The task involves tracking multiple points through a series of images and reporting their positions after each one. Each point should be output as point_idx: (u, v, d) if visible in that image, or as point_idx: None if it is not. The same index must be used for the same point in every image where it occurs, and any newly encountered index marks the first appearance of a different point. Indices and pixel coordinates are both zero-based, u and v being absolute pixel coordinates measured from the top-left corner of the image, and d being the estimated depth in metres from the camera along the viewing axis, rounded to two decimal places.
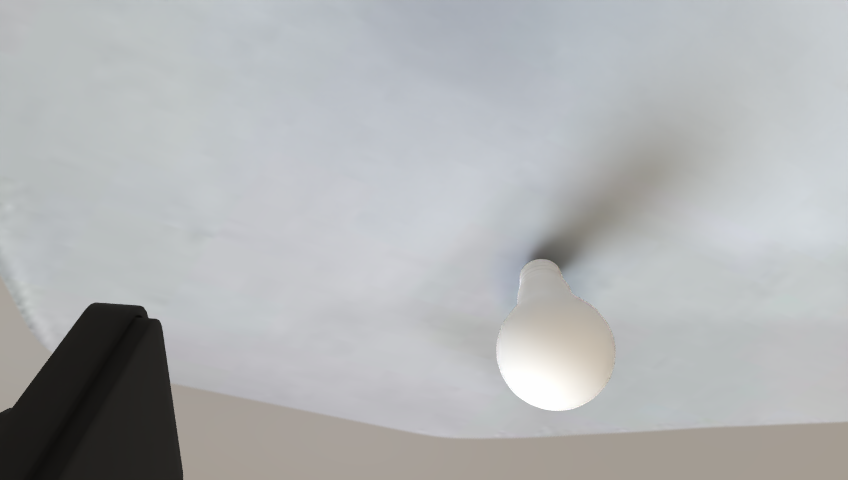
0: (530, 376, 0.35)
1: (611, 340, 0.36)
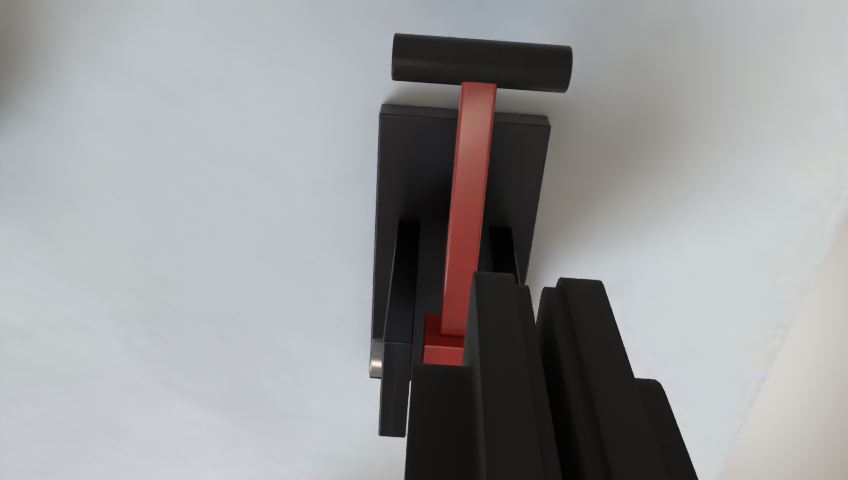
0: None
1: None
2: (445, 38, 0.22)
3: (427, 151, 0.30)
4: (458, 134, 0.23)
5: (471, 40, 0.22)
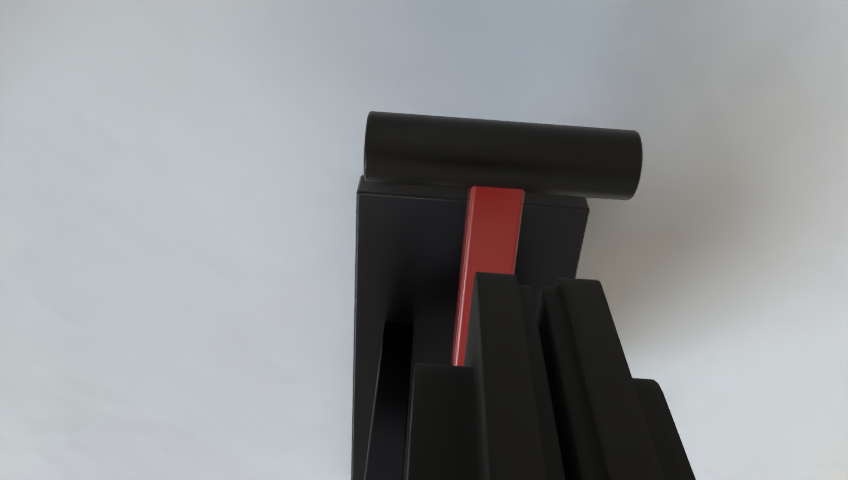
0: None
1: None
2: (446, 121, 0.15)
3: (422, 239, 0.22)
4: (466, 260, 0.15)
5: (486, 124, 0.14)
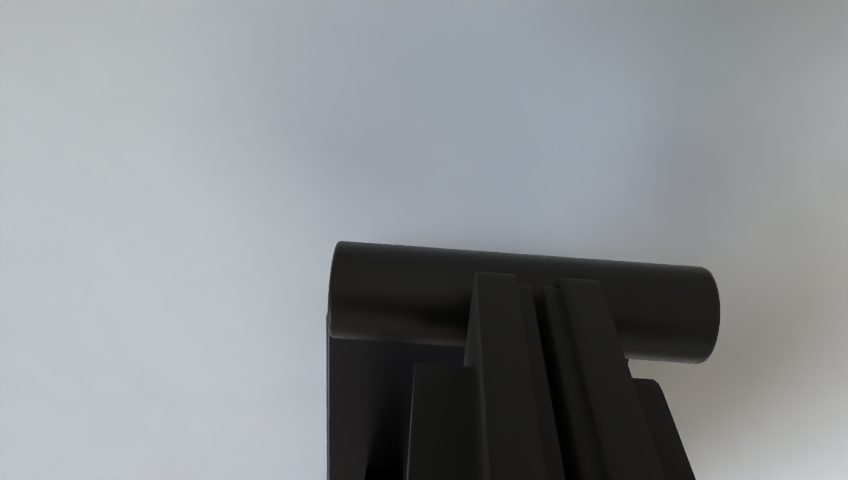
0: None
1: None
2: (444, 255, 0.10)
3: (413, 373, 0.17)
4: None
5: (499, 260, 0.10)
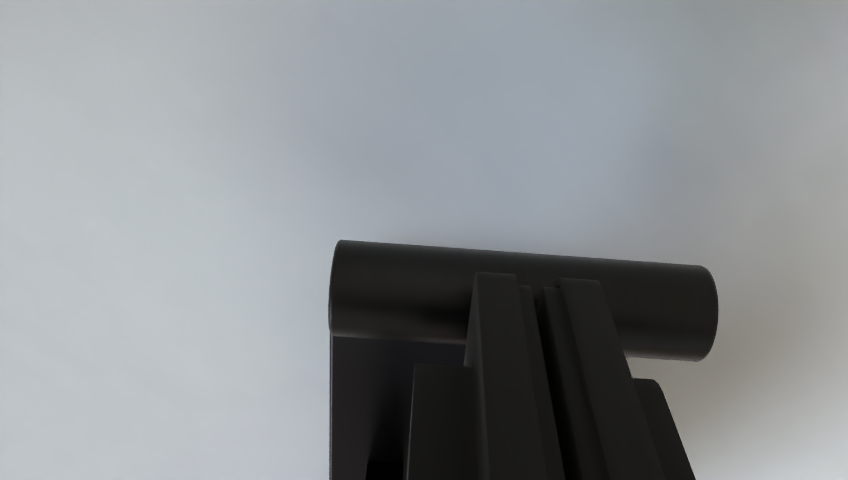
0: None
1: None
2: (444, 255, 0.10)
3: (413, 366, 0.18)
4: None
5: (499, 260, 0.10)
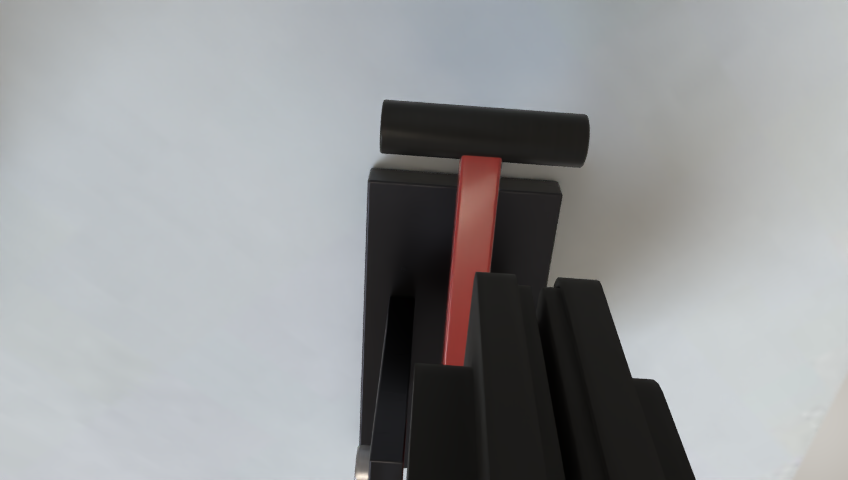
0: None
1: None
2: (442, 106, 0.19)
3: (422, 221, 0.27)
4: (457, 215, 0.20)
5: (472, 108, 0.19)
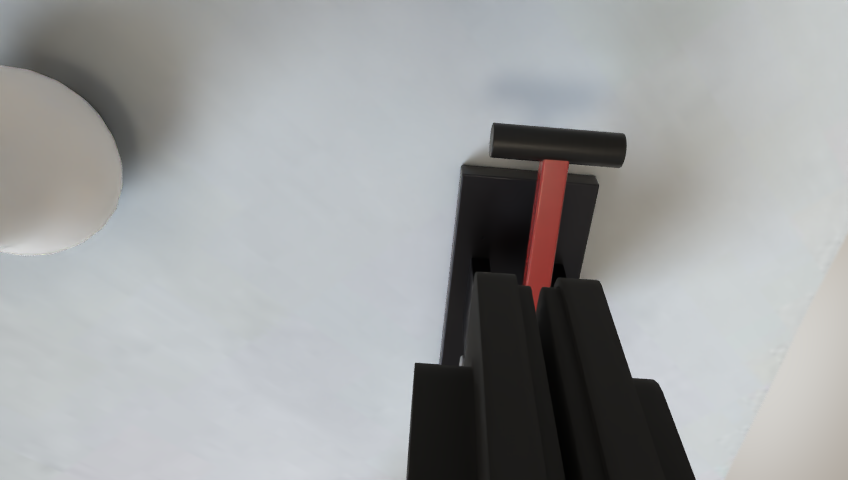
0: None
1: None
2: (531, 127, 0.30)
3: (498, 203, 0.37)
4: (538, 198, 0.31)
5: (550, 129, 0.30)
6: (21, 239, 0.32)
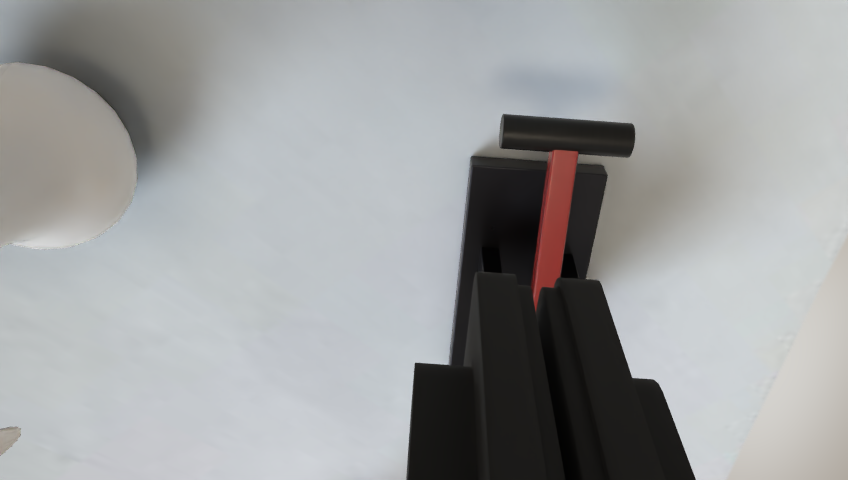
0: None
1: None
2: (541, 118, 0.30)
3: (508, 194, 0.38)
4: (548, 188, 0.31)
5: (560, 120, 0.30)
6: (40, 232, 0.33)
